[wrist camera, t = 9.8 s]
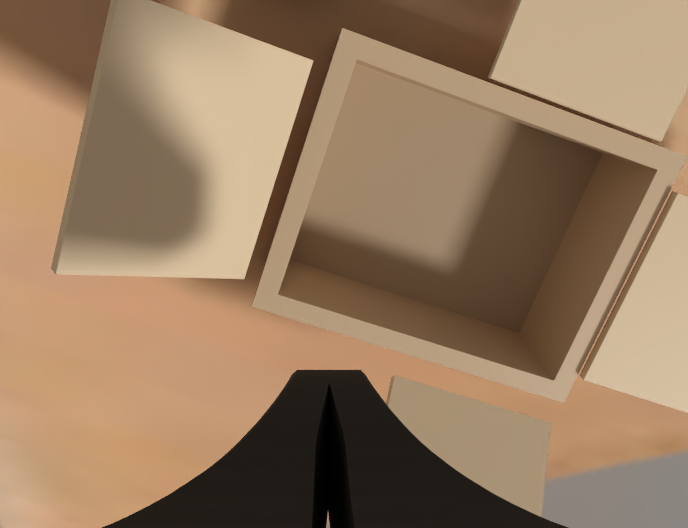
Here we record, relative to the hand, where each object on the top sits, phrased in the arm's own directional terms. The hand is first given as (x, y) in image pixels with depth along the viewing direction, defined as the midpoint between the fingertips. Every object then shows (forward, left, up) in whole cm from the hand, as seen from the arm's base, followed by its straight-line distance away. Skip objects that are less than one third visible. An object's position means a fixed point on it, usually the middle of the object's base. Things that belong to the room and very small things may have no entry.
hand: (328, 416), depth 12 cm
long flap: (+4, -3, -4) cm, 7 cm away
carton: (-6, -5, -10) cm, 13 cm away
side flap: (-5, +3, -4) cm, 7 cm away
